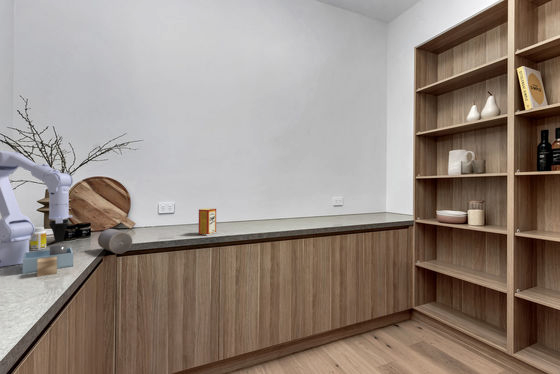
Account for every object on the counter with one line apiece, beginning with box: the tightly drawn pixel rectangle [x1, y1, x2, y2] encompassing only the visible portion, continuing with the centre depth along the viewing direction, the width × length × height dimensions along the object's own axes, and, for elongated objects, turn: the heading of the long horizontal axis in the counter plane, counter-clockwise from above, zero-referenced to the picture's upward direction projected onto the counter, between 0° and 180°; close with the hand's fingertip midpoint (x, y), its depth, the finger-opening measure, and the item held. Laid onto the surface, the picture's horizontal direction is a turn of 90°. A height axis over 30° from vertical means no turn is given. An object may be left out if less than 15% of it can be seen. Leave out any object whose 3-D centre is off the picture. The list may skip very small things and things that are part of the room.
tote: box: [22, 246, 74, 275], centre depth 101 cm, size 14×12×5 cm
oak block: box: [36, 256, 58, 278], centre depth 93 cm, size 5×5×5 cm
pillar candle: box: [97, 228, 133, 255], centre depth 124 cm, size 10×10×15 cm
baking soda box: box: [198, 207, 217, 235], centre depth 169 cm, size 10×6×16 cm
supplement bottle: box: [29, 226, 47, 252], centre depth 126 cm, size 6×6×10 cm
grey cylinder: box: [48, 243, 68, 256], centre depth 103 cm, size 5×5×7 cm
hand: (59, 240), depth 103 cm, fingers open, 7 cm apart
